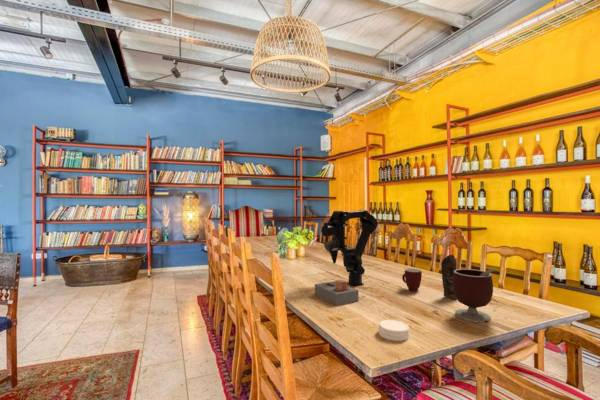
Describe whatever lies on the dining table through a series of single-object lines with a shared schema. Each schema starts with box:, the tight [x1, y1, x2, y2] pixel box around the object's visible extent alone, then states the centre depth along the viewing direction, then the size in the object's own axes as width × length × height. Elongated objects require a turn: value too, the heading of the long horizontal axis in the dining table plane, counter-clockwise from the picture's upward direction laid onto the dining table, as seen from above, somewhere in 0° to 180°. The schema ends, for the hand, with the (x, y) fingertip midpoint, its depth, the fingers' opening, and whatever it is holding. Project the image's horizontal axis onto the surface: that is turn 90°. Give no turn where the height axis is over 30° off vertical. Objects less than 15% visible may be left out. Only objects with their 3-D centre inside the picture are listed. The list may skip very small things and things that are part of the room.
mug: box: [401, 268, 423, 292], centre depth 158 cm, size 11×8×10 cm
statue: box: [440, 254, 457, 300], centre depth 145 cm, size 7×7×20 cm
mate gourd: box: [453, 268, 496, 323], centre depth 121 cm, size 16×14×20 cm
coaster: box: [378, 319, 410, 342], centre depth 105 cm, size 10×10×4 cm
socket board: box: [314, 280, 359, 307], centre depth 145 cm, size 12×18×5 cm, turn 29°
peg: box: [335, 278, 349, 292], centre depth 141 cm, size 4×4×9 cm
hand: (339, 265), depth 161 cm, fingers open, 9 cm apart
